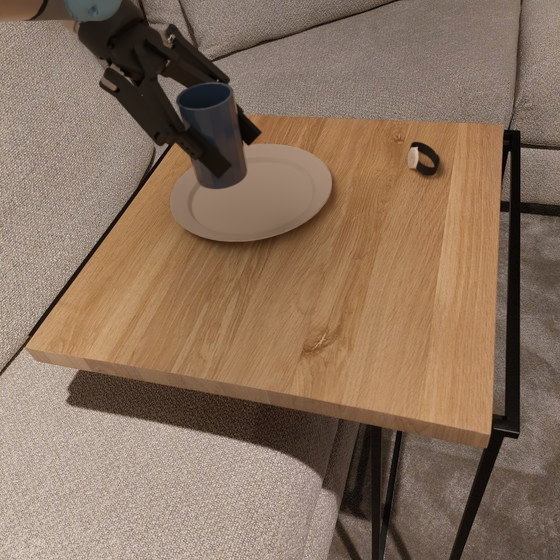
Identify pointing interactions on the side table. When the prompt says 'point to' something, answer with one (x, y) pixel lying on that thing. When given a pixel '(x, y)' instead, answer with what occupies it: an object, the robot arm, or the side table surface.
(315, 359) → the side table surface
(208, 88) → the tumbler
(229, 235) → the plate
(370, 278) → the side table surface
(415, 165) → the watch
